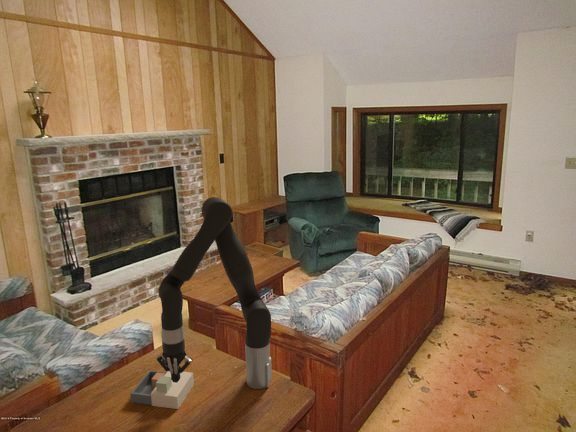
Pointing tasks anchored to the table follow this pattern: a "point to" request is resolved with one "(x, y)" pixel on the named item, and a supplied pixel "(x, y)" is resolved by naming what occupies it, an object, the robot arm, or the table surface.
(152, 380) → the orange cube
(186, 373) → the cream rectangular block
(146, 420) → the table surface
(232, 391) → the table surface
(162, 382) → the sage green cube
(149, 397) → the box
